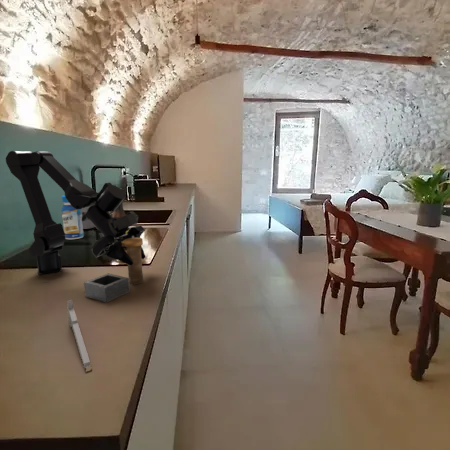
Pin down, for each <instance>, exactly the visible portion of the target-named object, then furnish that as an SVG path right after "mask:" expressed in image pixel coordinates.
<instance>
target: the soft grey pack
mask: <svg viewBox="0 0 450 450" xmlns="http://www.w3.org/2000/svg"><path fill="white" fill-rule="evenodd" d="M88 209H89V207H88V208H83V209H81V213H82V212H86V211H87V210H88ZM82 224H83V230H89V229H93V228H96V227H95V226H94V225H93V223H92V222H91V221H90V220H87V221H82Z"/></svg>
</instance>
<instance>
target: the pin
mask: <svg viewBox="0 0 450 450" xmlns="http://www.w3.org/2000/svg"><path fill="white" fill-rule="evenodd" d="M143 241H144V240H143V238H142V237H140V238H127V239H125V240H124V247H125V248H126V247H127V248H126V253H127V254H128V255H129V257H130V258H131V259H132V261H133V265H128V264H127V269H128V278H129V285H139V284H142V283H143V282H144V277H143V275H144V274H143V262H142V261H143V259H142V258H141V246H143V244H144V243H143Z"/></svg>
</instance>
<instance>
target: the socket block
mask: <svg viewBox="0 0 450 450" xmlns="http://www.w3.org/2000/svg"><path fill="white" fill-rule="evenodd" d="M83 285H84V286H83V287H84V295H85V297H86V298H89V299H94V300H97V301H98V302H102V303H108V302H111V301H113V300H115V299H117V298H119V297H121V296H123V295H125V294H128V293H130V283H129V277H126V276H122V275H118V274H113V273H108V272H107V273H106V274H103V275H100V276H96V277H94V278H92V279H89V280H86V281H85V282H84V283H83Z"/></svg>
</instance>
